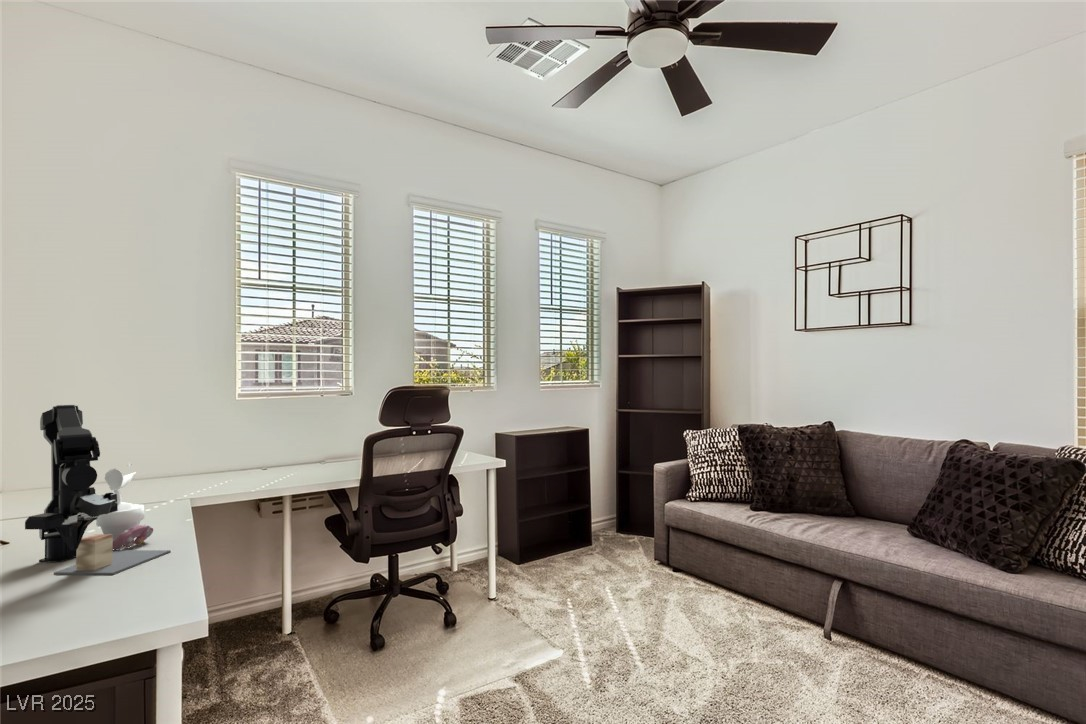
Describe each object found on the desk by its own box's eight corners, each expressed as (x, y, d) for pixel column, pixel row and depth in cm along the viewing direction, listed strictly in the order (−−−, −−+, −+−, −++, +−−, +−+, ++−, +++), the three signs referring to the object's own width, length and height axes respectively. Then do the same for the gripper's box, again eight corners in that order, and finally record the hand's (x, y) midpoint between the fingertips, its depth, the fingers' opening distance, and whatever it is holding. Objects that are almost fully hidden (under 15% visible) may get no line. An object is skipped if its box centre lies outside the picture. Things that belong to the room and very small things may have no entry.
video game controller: (118, 556, 153) (128, 534, 153) (106, 549, 154) (116, 526, 154) (149, 546, 163) (159, 525, 163) (138, 539, 164) (147, 518, 164)
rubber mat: (53, 574, 135) (53, 572, 135) (117, 552, 152) (117, 550, 152) (113, 574, 133) (113, 572, 133) (170, 552, 151) (170, 550, 151)
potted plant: (124, 546, 158) (125, 459, 159) (85, 547, 158) (85, 460, 159) (156, 534, 170) (156, 454, 172) (119, 535, 171) (120, 455, 172)
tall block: (76, 570, 136) (76, 539, 136) (94, 563, 141) (94, 534, 141) (94, 570, 135) (95, 539, 136) (112, 563, 140) (112, 534, 141)
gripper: (67, 492, 123) (66, 562, 123) (137, 478, 142) (136, 538, 141) (23, 492, 124) (22, 562, 124) (98, 478, 143) (97, 538, 142)
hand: (74, 549), depth 133 cm, fingers closed
